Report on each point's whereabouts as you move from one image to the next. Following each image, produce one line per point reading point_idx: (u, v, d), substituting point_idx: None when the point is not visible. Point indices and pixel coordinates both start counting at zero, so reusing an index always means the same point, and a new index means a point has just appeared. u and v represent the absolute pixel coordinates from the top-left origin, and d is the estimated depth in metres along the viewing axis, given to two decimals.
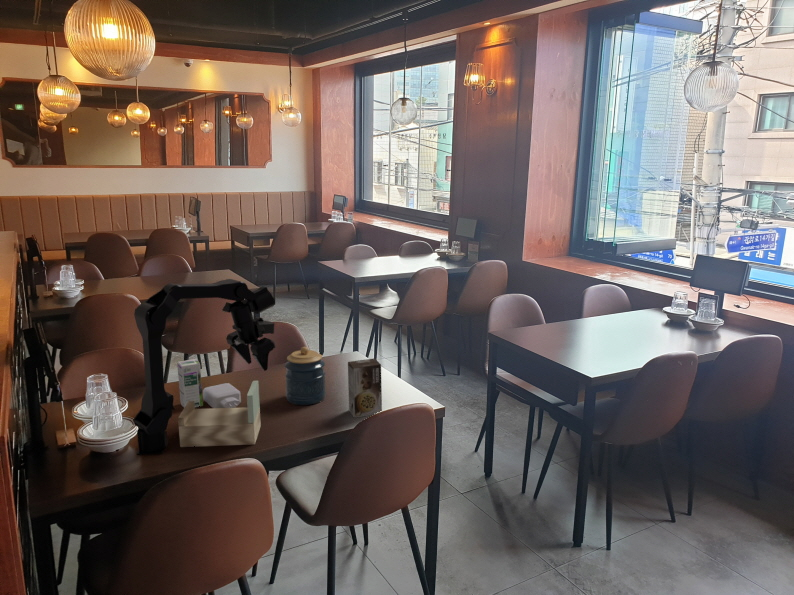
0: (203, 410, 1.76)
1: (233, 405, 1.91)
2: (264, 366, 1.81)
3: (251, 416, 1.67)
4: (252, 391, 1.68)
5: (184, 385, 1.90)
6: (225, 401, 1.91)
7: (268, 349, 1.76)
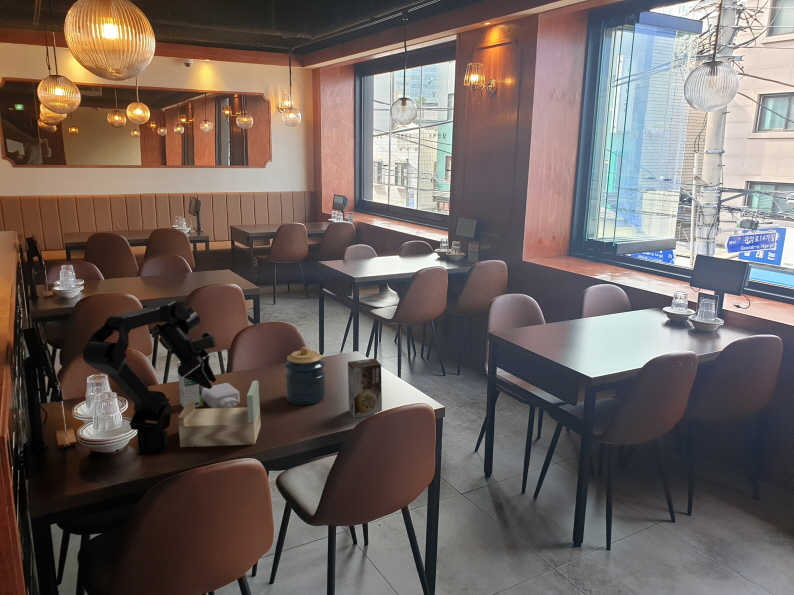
0: (203, 410, 1.76)
1: (232, 405, 1.91)
2: (205, 385, 1.67)
3: (251, 416, 1.67)
4: (252, 391, 1.68)
5: (184, 385, 1.90)
6: (224, 401, 1.91)
7: (191, 368, 1.62)
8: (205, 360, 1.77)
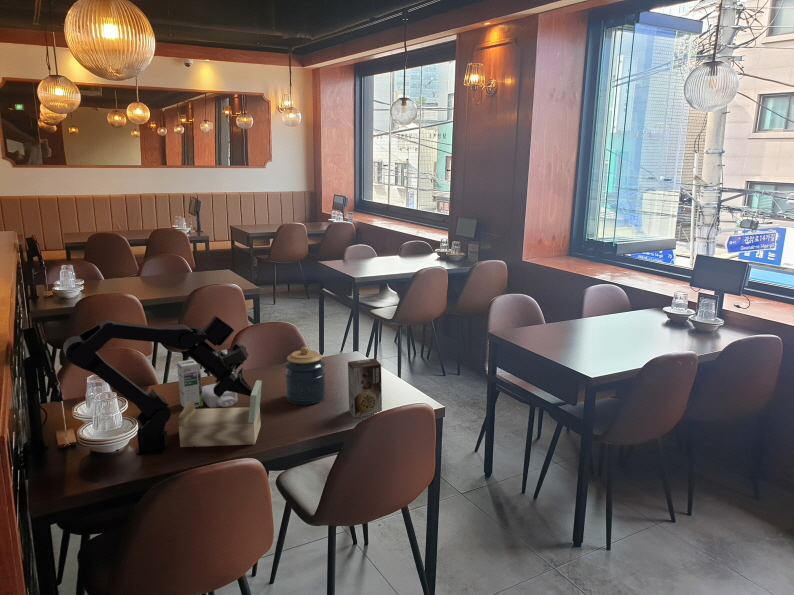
0: (203, 410, 1.76)
1: (229, 404, 1.92)
2: (247, 393, 1.70)
3: (252, 416, 1.67)
4: (256, 391, 1.68)
5: (184, 385, 1.90)
6: (221, 400, 1.92)
7: (226, 388, 1.61)
8: None
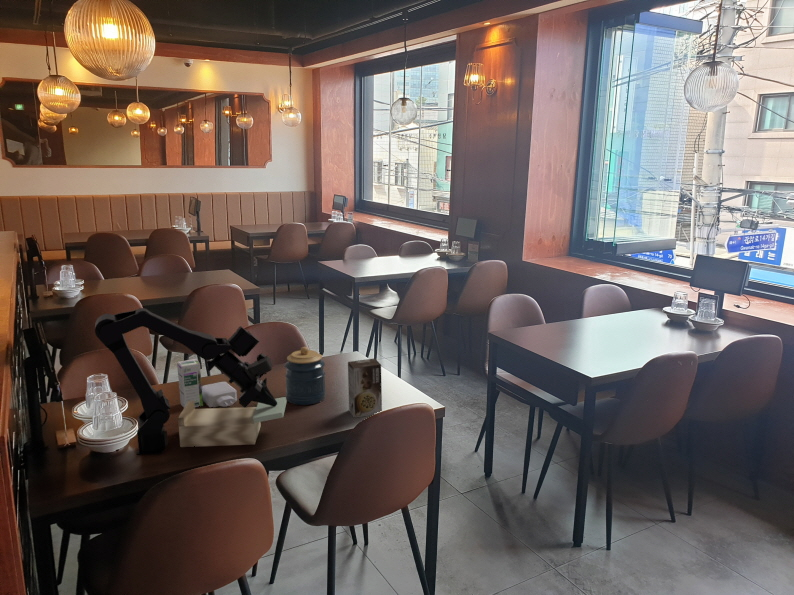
0: (203, 410, 1.76)
1: (229, 403, 1.93)
2: (270, 403, 1.72)
3: (260, 419, 1.67)
4: (283, 411, 1.70)
5: (184, 385, 1.90)
6: (221, 399, 1.92)
7: (251, 398, 1.62)
8: (263, 385, 1.72)
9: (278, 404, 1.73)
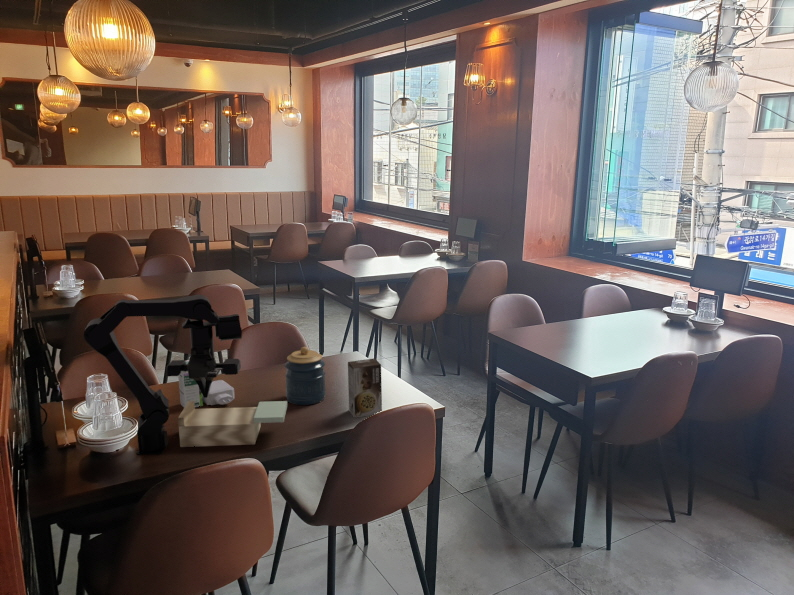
0: (203, 410, 1.76)
1: (227, 401, 1.94)
2: None
3: (261, 420, 1.67)
4: (284, 416, 1.71)
5: (184, 385, 1.90)
6: (219, 397, 1.94)
7: None
8: None
9: (279, 408, 1.74)
